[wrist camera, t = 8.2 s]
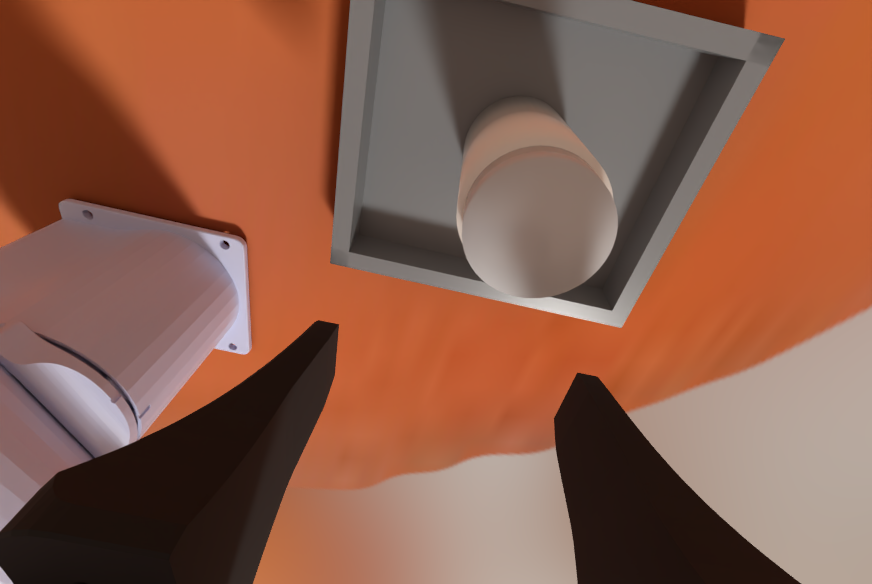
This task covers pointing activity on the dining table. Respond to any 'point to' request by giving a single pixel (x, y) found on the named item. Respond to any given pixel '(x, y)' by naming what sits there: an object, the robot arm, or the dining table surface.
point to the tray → (551, 83)
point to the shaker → (532, 201)
